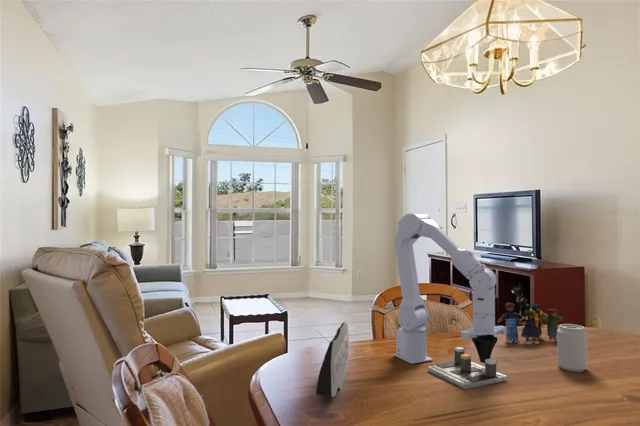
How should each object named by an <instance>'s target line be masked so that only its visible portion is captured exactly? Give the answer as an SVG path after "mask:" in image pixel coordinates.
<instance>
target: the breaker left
mask: <svg viewBox="0 0 640 426" xmlns="http://www.w3.org/2000/svg"><path fill="white" fill-rule="evenodd" d="M463 354H465V348H464V347H462V346H457V347H454V361H455V362H456V363H459V364H460V363H461V355H463Z"/></svg>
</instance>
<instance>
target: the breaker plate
mask: <svg viewBox="0 0 640 426" xmlns="http://www.w3.org/2000/svg"><path fill="white" fill-rule="evenodd" d="M427 372H429V373H431V374H433V375H435V376H438V378H441V379H443V380H445V381H446V382H447V381H448V382H449V383H451V384H454V385H455V386H457V387H458V388H459V387H460V388H461V389H464V390H466V389H467V390H468V389H472V388H477V387H481V386H482V387H483V386H487V385H491V384H496V383H501V382H503V383H504V382H507V381H508V376H507V375H505V374H503V373H500V372H498V371H496V376H493V377H489V376H487V375H485V366H484V365H481V364H478V363H475V362H473V361H471V371H466V372H465V371H463V370H461V363H460V364H459V363H456V362H455V360H454V361H450V362H443V363H437V364H434V365H430V366H427Z"/></svg>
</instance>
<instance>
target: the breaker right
mask: <svg viewBox="0 0 640 426" xmlns="http://www.w3.org/2000/svg"><path fill="white" fill-rule="evenodd" d="M484 367H485V375H487V376H489V377H493V376H496V372H497V360H496V359H494V358H490V359H485V363H484Z"/></svg>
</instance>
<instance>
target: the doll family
mask: <svg viewBox="0 0 640 426" xmlns="http://www.w3.org/2000/svg"><path fill="white" fill-rule="evenodd" d="M504 307H505V310H506V311H507V312H506V313H504V314H502V315H501V316H500V318H498V320H497V321H496V322H497V323H498V324H500V323H501V322H504V321H505V326H504V327H506V334H505V342H506V343H507V342H509V343H508V344H513V343H516V342H519V343H520V340H519V333H518V331H519V330H518V326H523V328H522V330H521V335H520V337H522V338H525V341H524V342H525V343H526V344H525V343H524V344H525V345H528V344H530V345H533V344H535V345H539V344H540V342H539V341H538V340H539V339H541V340H543V337H542V334H543V332H542V328H544V324H543V322H544V323H547V325H546V326H547V327H546V329H547V330H546V331H547V332H546V333H547V337H548V338H549V339H548V340H547V342H551V343H555V342H557V330H558V329H559V326H558V322H563V320H564V319H563V316H559V315H558V309H557V308H548V310H547V311H546V312H547V313H548V314H546V313H544V312H543V311H542V308H541V307H542V305H541V304H539V303H534V304H533V305H532V306H531V308H529V310H527V311H525V312H524V314H523V316H522V315H521V314H520V313H518V312H514V309H515V307H516V305H515V304H514V303H513V302H512V303H511V302H506V303H505V304H504ZM530 340H531V341H530ZM513 341H514V342H513ZM512 342H513V343H512Z"/></svg>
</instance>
